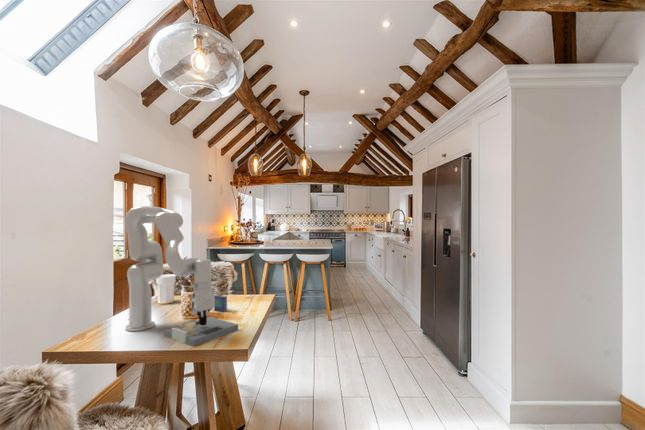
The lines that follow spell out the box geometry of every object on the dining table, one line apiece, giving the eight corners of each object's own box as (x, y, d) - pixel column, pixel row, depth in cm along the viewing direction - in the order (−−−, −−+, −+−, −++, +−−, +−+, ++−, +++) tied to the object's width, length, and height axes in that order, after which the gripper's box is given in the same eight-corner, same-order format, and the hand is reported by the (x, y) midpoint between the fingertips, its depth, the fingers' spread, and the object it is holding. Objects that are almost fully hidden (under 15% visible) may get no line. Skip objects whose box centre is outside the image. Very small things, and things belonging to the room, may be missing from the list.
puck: (178, 333, 140) (178, 321, 140) (191, 329, 144) (191, 318, 144) (185, 336, 136) (185, 324, 136) (198, 332, 140) (198, 321, 140)
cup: (178, 300, 208) (178, 274, 208) (171, 304, 197) (171, 277, 197) (160, 300, 207) (160, 274, 207) (152, 305, 196) (152, 277, 196)
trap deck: (164, 335, 143) (164, 325, 143) (209, 321, 163) (209, 312, 163) (193, 346, 131) (193, 335, 131) (238, 329, 151) (238, 320, 151)
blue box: (227, 311, 182) (227, 292, 182) (224, 312, 179) (224, 293, 179) (216, 309, 186) (216, 291, 186) (212, 310, 184) (212, 292, 184)
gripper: (193, 289, 139) (193, 330, 139) (221, 283, 152) (221, 321, 151) (183, 287, 143) (183, 327, 143) (211, 282, 156) (211, 319, 155)
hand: (202, 324), depth 147 cm, fingers closed
